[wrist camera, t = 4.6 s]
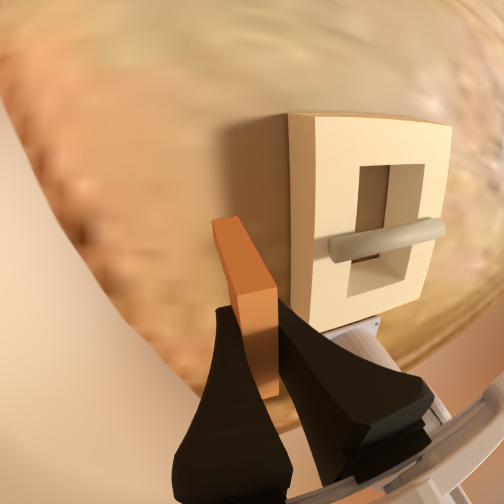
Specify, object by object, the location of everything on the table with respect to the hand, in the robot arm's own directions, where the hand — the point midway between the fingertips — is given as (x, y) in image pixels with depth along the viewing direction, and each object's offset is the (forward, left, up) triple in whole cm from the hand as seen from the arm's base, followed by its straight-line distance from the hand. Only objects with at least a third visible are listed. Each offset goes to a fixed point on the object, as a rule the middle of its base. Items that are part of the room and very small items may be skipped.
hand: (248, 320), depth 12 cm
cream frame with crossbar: (-1, -12, -10) cm, 15 cm away
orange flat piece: (0, 0, -3) cm, 3 cm away
